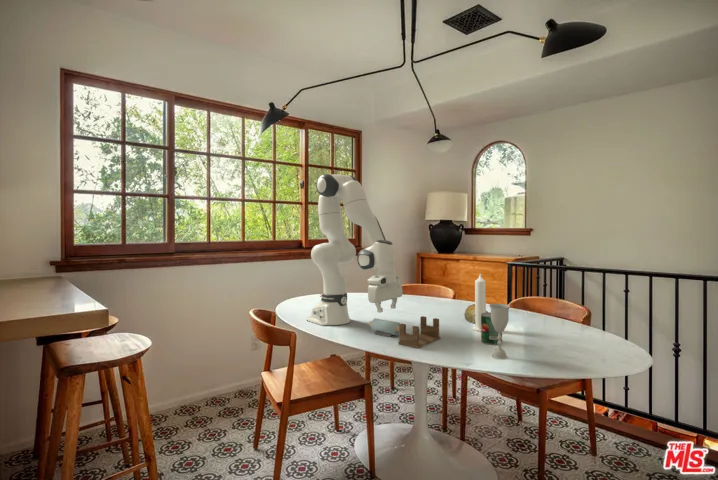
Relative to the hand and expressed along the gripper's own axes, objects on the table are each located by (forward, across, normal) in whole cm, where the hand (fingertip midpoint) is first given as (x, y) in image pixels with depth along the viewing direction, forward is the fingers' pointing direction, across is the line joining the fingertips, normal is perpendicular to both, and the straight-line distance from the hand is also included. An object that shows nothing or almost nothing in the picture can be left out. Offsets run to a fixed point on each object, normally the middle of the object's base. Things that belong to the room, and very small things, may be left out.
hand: (386, 310), depth 169 cm
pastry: (+11, -46, +20) cm, 51 cm away
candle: (+11, -31, +28) cm, 43 cm away
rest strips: (+10, 0, -1) cm, 10 cm away
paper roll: (+7, 0, -1) cm, 7 cm away
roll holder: (+11, 0, +16) cm, 19 cm away
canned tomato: (+12, -16, +39) cm, 44 cm away
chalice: (+12, -1, +48) cm, 49 cm away
